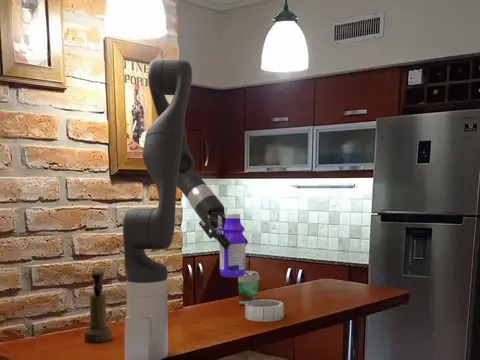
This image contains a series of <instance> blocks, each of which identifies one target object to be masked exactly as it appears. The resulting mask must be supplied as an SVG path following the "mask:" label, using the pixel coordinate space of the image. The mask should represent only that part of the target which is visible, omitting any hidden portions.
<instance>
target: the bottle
mask: <svg viewBox="0 0 480 360" xmlns="http://www.w3.org/2000/svg"><path fill="white" fill-rule="evenodd" d="M225 214H226V217H225V218H226V219H225V225H224V227H223V229H222V230H223V231H222V234H224V236H225V237H226V238H227V240H228V241H229V242H230V246H229V247H228V249H224V248H223V247H222V246H221V244H220V243H219V274H220V276H221V277H224V278H238V277H240V276H244V274H245V271H246V246H245V238H246V237H245V236H243V235H244V234H243V232H244V231H243V228H242V226H243V225H242V222H241V214H240V213H225ZM241 225H242V226H241ZM242 231H243V232H242ZM244 237H245V238H244Z"/></svg>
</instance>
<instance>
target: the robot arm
mask: <svg viewBox="0 0 480 360" xmlns="http://www.w3.org/2000/svg"><path fill="white" fill-rule="evenodd" d="M147 69H148V70H147V83H148V87H149V88H148V89H149V92H150V96H151V99H152V101H153V106H154V109H155V113H156V115H157V118H156V119H155V120H154V121H153V122H152V124H151V125H150V126H149V128H148V129H147V130H146V134H145V138H144V143H143V144H144V145H143V150H142V160H143V164H144V166H145V168H146V170H147V172H148V174H149V177H151V179H152V181H153V183H154V184H155V187H156V190H157V192H158V206H157V208H131V209H129V210H128V211H127V212H126V213H125V215H124V218H123V223H122V236H123V238H122V239H123V240H122V241H123V253H124V257H123V258H124V259H123V260H124V268H125V281H126V282H125V283H126V284H125V285H126V286H125V287H126V289H125V290H126V292H125V295H126V297H125V301H126V304H125V305H126V306H125V308H126V311H125V313H126V316H125V317H124V360H163V359H166V358H167V357H168V355H169V329H168V328H169V326H168V325H169V322H168V321H169V320H168V319H169V314H168V313H169V311H168V310H169V309H168V301H169V299H168V298H169V297H168V293H169V292H168V287H169V285H168V267H167V266H166V265H164V264H163V263H159V262H157V261H155V260H154V259H152V258H150V257H149V256H148V255H147V254H146V253H145V250H166V249H168V248H169V247H170V246H171V245H172V243H173V239H174V233H175V223H176V222H175V221H176V204H177V203H176V201H177V189H178V190H180V191H181V192H182V194H183V195H184V196H185V198H186V199H187V201H188V203H189V204H190V206H191V207H192V209H193V210H194V211H195V213H196V215H197V216H198V218H199V219H200V221H199V222H198V224H199V226H200V227H201V228H202V230H203V231H204V232H205V234H206V235H207V237H208V238H209V239H214V240H217V242H218V243H219V245H220V244H221V246H222V247H223V248H224V249H228V247H229V246H230V242H229V241H228V240H227V238H226V237H225V236H224V234H223V230H222V229H223V227H224V225H225V219H226V218H225V217H226V214H227V213H225V206H224V204H223V203H222V202H221V200H219V197H217V195H216V194H215V193H214V191H213V190H212V189H211V188H210V187H209V186H208V185H207V184H206V181H204V180H203V178H202V177H201V176H200V175H199V174H198V173H197V172H192V171H193V169H194V167H195V160H194V158H193V155H192V153H191V152H190V149H189V146H188V140H187V130H186V126H185V122H186V121H185V120H186V114H187V112H186V111H187V107H188V103H189V99H190V98H189V97H190V92H191V86H192V80H193V69H192V66H191V64H190V62H189V61H187V60H183V59H170V58H168V59H167V58H158V59H157V58H156V59H152V60H151V62H150V63H149V65H148V68H147ZM166 96H173V97H172V99H171V101H170V102H169V101H168V99H167V98H166ZM241 226H242V228H243V231H242V233H243V232H244V231H245V227H244V226H243V224H241ZM243 236H244V234H243ZM244 238H245V247H246V246H247V245H248V243H249V241H248V239H247V238H246V237H245V236H244Z"/></svg>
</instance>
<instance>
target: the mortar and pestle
mask: <svg viewBox="0 0 480 360" xmlns="http://www.w3.org/2000/svg"><path fill="white" fill-rule="evenodd" d="M104 274H105V271H104V269H103V268H101V267H95V268H93V269H92V271H91V278H92V279H93V281H94V285H93V286H92V287H93V291H94V294H91V295H89V311H90V313H89V318H90V319H89V320H90V321H89V327H88V328H86V329H85V330H84V342H86V343H91V344H92V343H94V344H95V343H96V344H97V343H104V342H108V341H109V340H111V339H112V336H113V335H112V328H110V326H108V325H107V300H106V299H107V295H106V294H105V293H103V292H102V291H103V288H104V287H103V285H102V279H103V278H104V276H105V275H104Z"/></svg>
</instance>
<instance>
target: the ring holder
mask: <svg viewBox="0 0 480 360" xmlns="http://www.w3.org/2000/svg"><path fill="white" fill-rule="evenodd" d="M284 308H285V307H284V303H283V302H282V301H280V300H275V299H257V300H252V301H248V302H246V303H245V306H244V318H246V320H249V321H251V322H262V323H264V322H266V323H268V322H276V321H281V320H283V319H284V317H285V315H284V311H285V310H284Z"/></svg>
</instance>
